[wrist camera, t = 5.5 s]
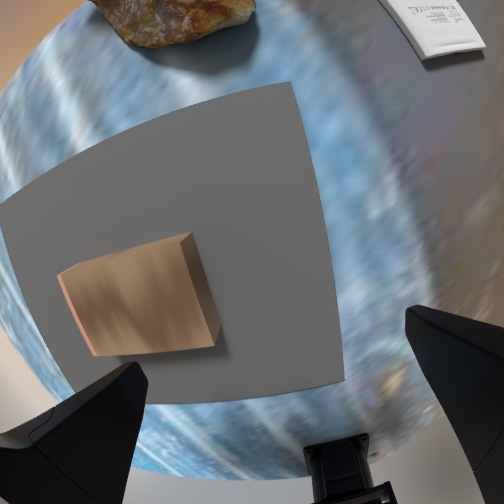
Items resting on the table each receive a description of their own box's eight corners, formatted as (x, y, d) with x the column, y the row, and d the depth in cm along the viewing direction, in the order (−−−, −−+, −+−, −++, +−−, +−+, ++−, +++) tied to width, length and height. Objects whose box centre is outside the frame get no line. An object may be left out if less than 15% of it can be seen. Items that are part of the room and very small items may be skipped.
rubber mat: (343, 376, 18) (344, 380, 18) (81, 396, 21) (79, 398, 21) (289, 83, 13) (290, 81, 13) (-1, 206, 16) (-4, 207, 16)
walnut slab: (214, 345, 15) (93, 356, 16) (221, 323, 17) (109, 337, 18) (179, 242, 13) (56, 275, 14) (192, 231, 15) (77, 263, 16)
